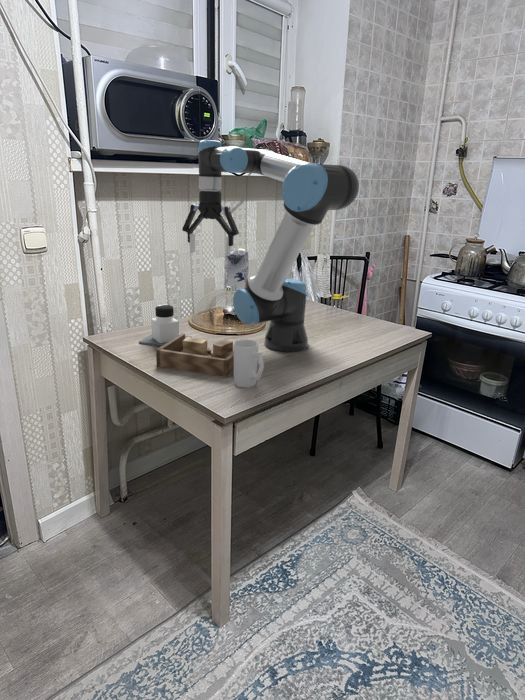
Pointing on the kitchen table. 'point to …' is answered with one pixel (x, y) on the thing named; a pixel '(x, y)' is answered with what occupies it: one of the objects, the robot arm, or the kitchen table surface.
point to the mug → (246, 363)
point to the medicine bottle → (164, 324)
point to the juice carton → (236, 270)
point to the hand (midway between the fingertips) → (210, 253)
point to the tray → (192, 359)
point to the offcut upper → (222, 347)
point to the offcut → (195, 346)
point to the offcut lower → (221, 355)
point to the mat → (153, 341)
